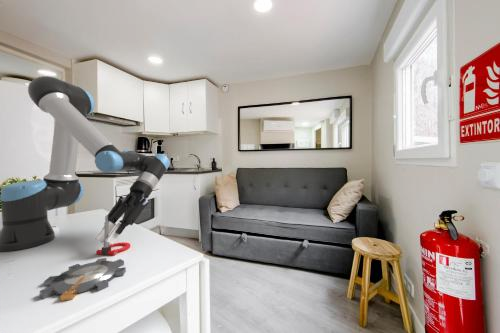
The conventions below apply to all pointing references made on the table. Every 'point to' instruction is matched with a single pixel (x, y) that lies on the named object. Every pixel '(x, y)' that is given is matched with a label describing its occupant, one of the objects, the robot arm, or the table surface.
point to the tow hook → (107, 248)
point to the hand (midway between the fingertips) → (104, 241)
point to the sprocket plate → (83, 279)
